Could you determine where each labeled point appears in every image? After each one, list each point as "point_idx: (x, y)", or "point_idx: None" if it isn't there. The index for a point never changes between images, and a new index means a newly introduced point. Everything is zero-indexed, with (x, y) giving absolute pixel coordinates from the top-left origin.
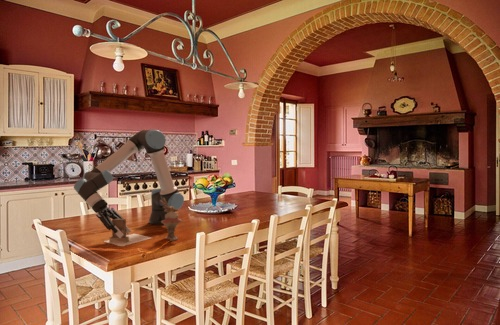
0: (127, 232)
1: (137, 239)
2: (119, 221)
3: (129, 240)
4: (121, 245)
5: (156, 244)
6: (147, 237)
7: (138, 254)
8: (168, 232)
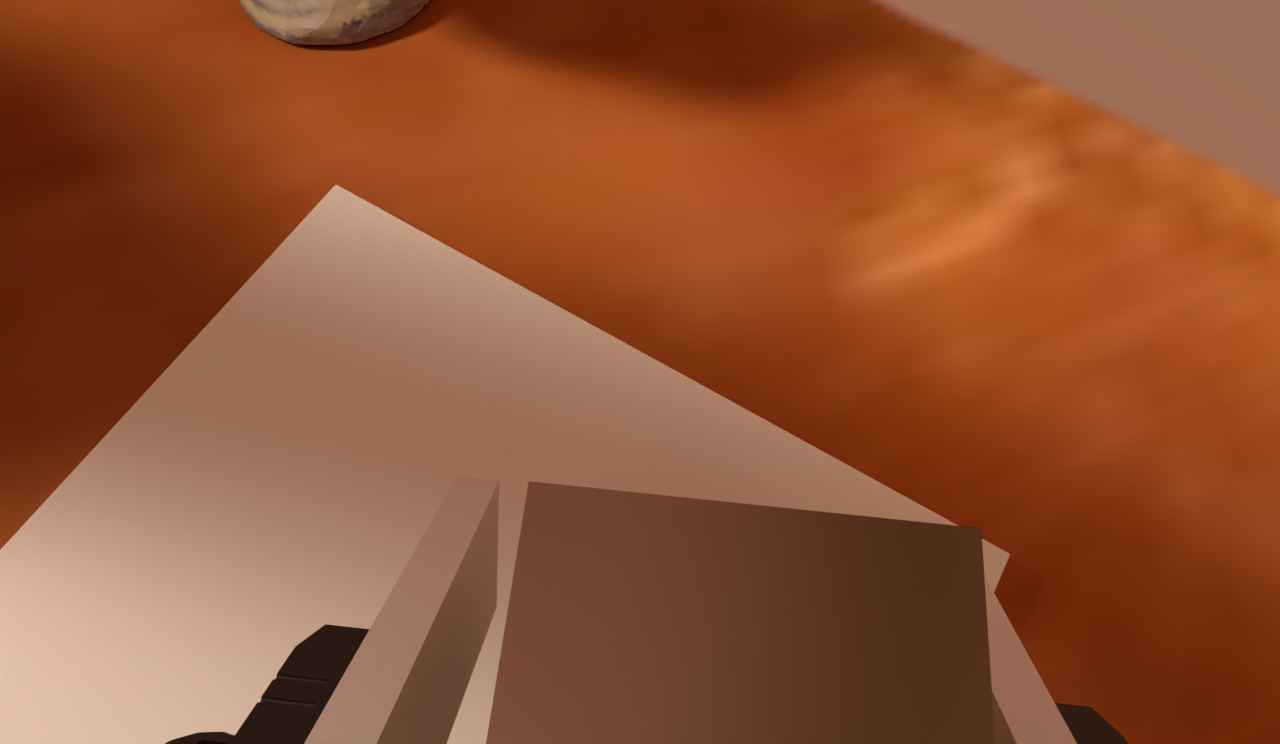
0: (484, 598)
1: (456, 423)
2: (962, 704)
3: None
4: None
5: (631, 84)
6: (302, 281)
7: (1191, 170)
8: None
